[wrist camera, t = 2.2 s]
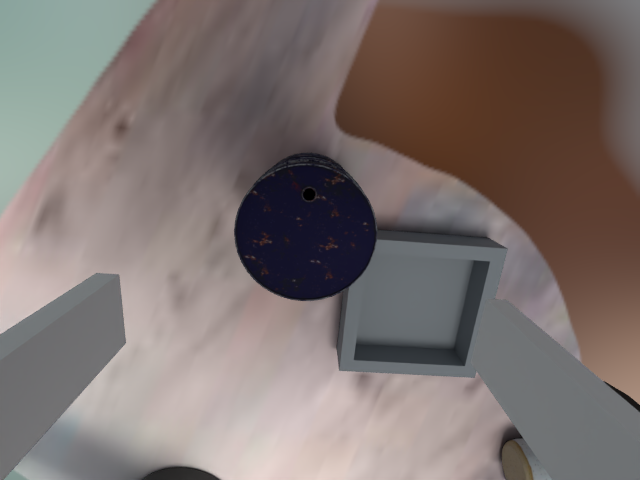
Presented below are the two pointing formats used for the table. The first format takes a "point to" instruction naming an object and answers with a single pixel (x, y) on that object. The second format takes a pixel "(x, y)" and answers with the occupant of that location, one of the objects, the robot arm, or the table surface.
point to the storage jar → (305, 229)
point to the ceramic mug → (521, 462)
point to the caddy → (419, 304)
